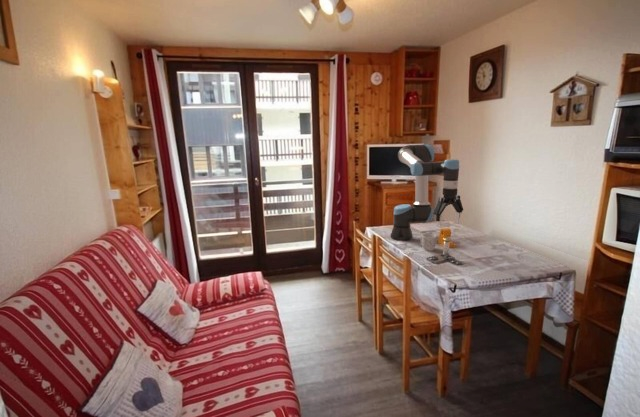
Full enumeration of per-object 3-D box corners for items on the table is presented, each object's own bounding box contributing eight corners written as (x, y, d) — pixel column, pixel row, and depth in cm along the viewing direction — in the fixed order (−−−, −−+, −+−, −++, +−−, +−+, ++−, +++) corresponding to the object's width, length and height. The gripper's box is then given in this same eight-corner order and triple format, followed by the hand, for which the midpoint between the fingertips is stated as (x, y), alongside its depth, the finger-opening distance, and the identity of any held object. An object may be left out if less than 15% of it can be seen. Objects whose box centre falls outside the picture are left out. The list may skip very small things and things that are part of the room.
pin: (440, 259, 186) (441, 238, 183) (445, 258, 187) (446, 237, 184) (445, 261, 182) (447, 240, 179) (450, 260, 184) (452, 239, 181)
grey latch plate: (436, 259, 186) (436, 256, 186) (445, 257, 189) (445, 254, 189) (456, 268, 173) (456, 264, 173) (465, 265, 176) (466, 262, 176)
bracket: (456, 248, 202) (457, 230, 200) (444, 249, 202) (446, 231, 199) (448, 243, 213) (449, 226, 210) (437, 244, 213) (438, 226, 210)
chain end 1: (445, 255, 189) (445, 252, 188) (454, 259, 183) (455, 255, 182) (425, 259, 182) (425, 256, 182) (434, 264, 176) (434, 260, 176)
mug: (415, 248, 205) (415, 233, 203) (425, 246, 208) (426, 231, 206) (427, 254, 195) (428, 238, 193) (438, 251, 198) (439, 236, 196)
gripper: (438, 190, 167) (436, 229, 172) (472, 186, 178) (469, 223, 182) (427, 189, 174) (426, 226, 179) (461, 185, 184) (458, 220, 189)
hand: (447, 225), depth 181 cm, fingers open, 13 cm apart
